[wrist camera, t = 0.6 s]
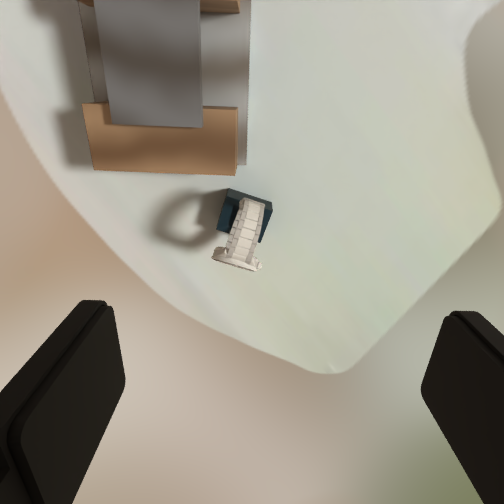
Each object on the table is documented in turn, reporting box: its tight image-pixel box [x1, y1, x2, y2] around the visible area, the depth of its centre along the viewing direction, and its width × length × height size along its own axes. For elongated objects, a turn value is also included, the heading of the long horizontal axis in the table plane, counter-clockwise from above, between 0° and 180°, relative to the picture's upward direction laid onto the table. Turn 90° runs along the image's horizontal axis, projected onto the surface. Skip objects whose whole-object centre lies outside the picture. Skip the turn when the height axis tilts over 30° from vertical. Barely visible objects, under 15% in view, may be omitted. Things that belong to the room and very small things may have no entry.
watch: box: [212, 188, 273, 271], centre depth 35 cm, size 6×8×11 cm
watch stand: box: [77, 0, 251, 176], centre depth 29 cm, size 20×16×7 cm
